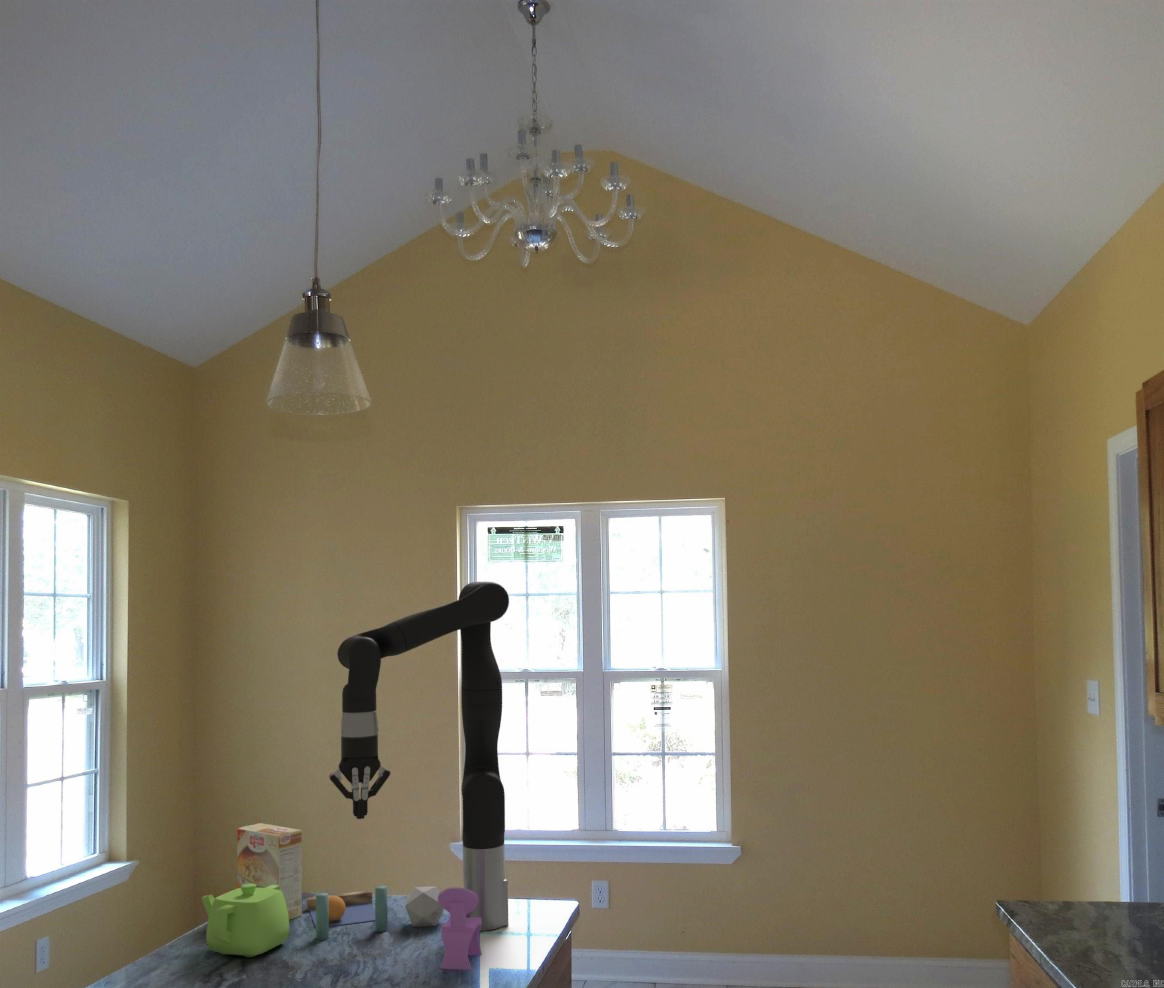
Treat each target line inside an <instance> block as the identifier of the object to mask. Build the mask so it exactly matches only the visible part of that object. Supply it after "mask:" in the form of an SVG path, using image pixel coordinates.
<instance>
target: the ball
mask: <svg viewBox="0 0 1164 988" xmlns="http://www.w3.org/2000/svg"><path fill="white" fill-rule="evenodd" d="M344 913H345V903H344V901H343V899H342V898H340V897H338V896H329V922H335V921H337V920H339V919H340V918H341V917H342V916H343V915H344Z"/></svg>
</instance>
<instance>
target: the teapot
mask: <svg viewBox="0 0 1164 988" xmlns="http://www.w3.org/2000/svg"><path fill="white" fill-rule="evenodd" d="M201 900H202V904H203V906H204V909H205V911H206V913H207V917H208V919H207V920H208V921H207V925H206V926H207V927H206V935H205V940H206V944H207V946H208V949H209V950H210V952H214V953H218V954H219V953H220V954H221V955H233V956H235V955H236V956H244V957H245V958H254V957H256V956H258V955H261V954H264V953H266V952H268V951H270V950H272V949H273V948H274V949H275V948H276V947H278V946H280V945H281V944H283V943H284V942H286V941H287V938H288V935H289V933H290V920H289V917H288V911H287V906H286V903H285V899H284V896H283V893H282V891H280V886H279V885H270V886H268V887H266V888H256V884H252V883H250V884H244V885H242V886H241V888H237V887H236V888H235V889H233V890H230V891H228V892H225V893H223V894H221V895H219V896H216V897H214V896H213V894H210V895H209V894H208V895H204V896H202V897H201Z"/></svg>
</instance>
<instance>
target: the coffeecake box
mask: <svg viewBox="0 0 1164 988" xmlns="http://www.w3.org/2000/svg"><path fill="white" fill-rule="evenodd" d="M302 831H303V830H302V829H298V828H292V827H286V826H280V825H274V824H268V823H261V822H260V823H254V824H250V825H244V826H242V827H237V845H236V847H237V849H236V850H237V851H236V852H237V857H236V859H237V861H236V862H237V864H236V874H237V876H236V877H237V880H236V882H237V883H236V885H237V886H236V889H237V888H241V886H242V885H244V884H250V883H252V884H256V888H266V887H268V886H270V885H279V886H280V891H282V893H283V896H284V899H285V903H286V906H287V911H288V917H289V921H290V920H294V919H296V918H298V917H299V918H300V917H302V913H303V911H302V909H303V908H302V898H303V893H302V891H303V890H302V883H303V882H302V880H303V879H302V874H303V873H302V867H303V866H302V859H303V858H302V855H303V853H302V847H303V846H302V840H303V839H302V838H303V837H302V836H303V835H302Z"/></svg>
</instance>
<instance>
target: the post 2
mask: <svg viewBox="0 0 1164 988" xmlns="http://www.w3.org/2000/svg"><path fill="white" fill-rule="evenodd" d="M374 902H375V903H374V904H375V905H374V906H375V907H374V910H375V921H374V924H375V925H374V927H375V928H374V929H375V930H374V931H375V932H376V933H377V932H378V933H381V932H382V933H383V932H387V931H388V886H387V885H378V886H376V887H374Z"/></svg>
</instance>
